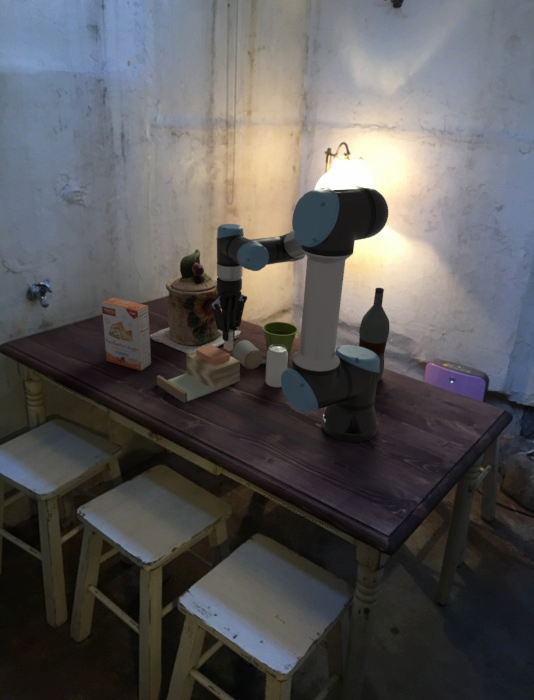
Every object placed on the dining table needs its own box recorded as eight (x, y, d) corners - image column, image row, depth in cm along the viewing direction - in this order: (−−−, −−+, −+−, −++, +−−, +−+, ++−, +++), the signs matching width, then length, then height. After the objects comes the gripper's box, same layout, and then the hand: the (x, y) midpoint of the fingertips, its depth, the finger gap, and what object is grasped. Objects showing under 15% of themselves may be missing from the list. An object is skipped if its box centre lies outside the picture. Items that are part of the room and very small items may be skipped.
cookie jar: (146, 339, 204) (141, 252, 190) (192, 320, 222) (191, 238, 209) (198, 359, 191) (197, 266, 178) (243, 336, 210) (245, 251, 196)
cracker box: (105, 362, 186) (100, 301, 177) (117, 355, 191) (113, 296, 182) (140, 372, 181) (136, 310, 172) (152, 364, 186) (149, 304, 177)
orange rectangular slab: (229, 360, 175) (229, 354, 175) (214, 365, 172) (214, 359, 171) (211, 350, 181) (211, 344, 180) (196, 355, 178) (196, 349, 177)
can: (290, 383, 178) (292, 348, 173) (276, 390, 174) (278, 354, 169) (275, 376, 182) (277, 342, 177) (261, 382, 178) (262, 347, 173)
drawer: (214, 391, 172) (214, 382, 170) (184, 403, 165) (184, 393, 164) (186, 374, 181) (186, 365, 180) (157, 384, 174) (156, 376, 173)
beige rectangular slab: (239, 381, 178) (240, 361, 175) (214, 391, 172) (214, 370, 169) (211, 365, 187) (211, 346, 184) (186, 374, 181) (186, 354, 178)
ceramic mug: (244, 372, 184) (245, 351, 180) (231, 362, 190) (232, 341, 186) (272, 366, 189) (273, 344, 186) (258, 356, 195) (259, 336, 192)
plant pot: (290, 369, 187) (292, 337, 183) (256, 362, 191) (257, 331, 186) (300, 354, 197) (302, 324, 193) (267, 348, 201) (269, 319, 196)
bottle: (387, 383, 181) (400, 293, 168) (359, 385, 179) (370, 294, 166) (376, 370, 189) (388, 283, 177) (349, 371, 187) (360, 284, 175)
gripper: (237, 270, 177) (236, 339, 186) (204, 277, 168) (204, 350, 178) (254, 276, 172) (251, 347, 182) (220, 284, 163) (219, 358, 173)
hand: (228, 348), depth 180 cm, fingers closed
